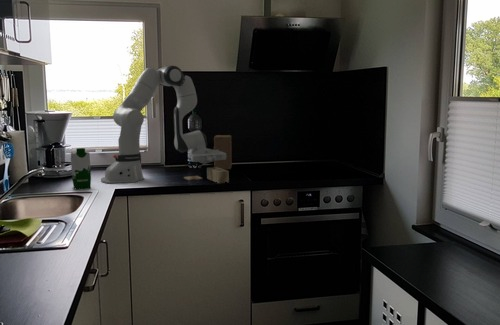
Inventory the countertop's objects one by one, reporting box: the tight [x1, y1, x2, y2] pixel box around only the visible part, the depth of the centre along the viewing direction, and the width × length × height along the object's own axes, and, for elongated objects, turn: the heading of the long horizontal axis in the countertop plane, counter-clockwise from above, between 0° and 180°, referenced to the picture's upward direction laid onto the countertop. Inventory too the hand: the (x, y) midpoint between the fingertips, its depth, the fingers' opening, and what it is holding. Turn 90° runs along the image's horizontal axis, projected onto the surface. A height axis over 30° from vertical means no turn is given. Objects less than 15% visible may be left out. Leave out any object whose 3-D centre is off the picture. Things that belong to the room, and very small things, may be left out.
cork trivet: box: [183, 175, 203, 181], centre depth 269 cm, size 8×8×1 cm
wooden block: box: [213, 134, 233, 170], centre depth 301 cm, size 10×10×20 cm
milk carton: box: [70, 147, 92, 190], centre depth 244 cm, size 9×9×20 cm
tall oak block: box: [206, 166, 230, 184], centre depth 263 cm, size 6×6×16 cm
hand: (213, 158), depth 266 cm, fingers closed
